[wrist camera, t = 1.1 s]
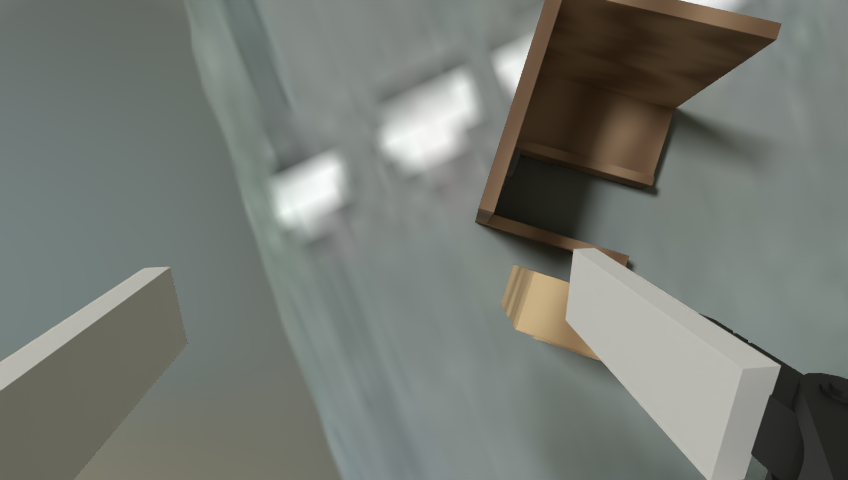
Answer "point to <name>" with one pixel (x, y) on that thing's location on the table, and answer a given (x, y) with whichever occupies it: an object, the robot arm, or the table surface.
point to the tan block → (542, 309)
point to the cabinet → (612, 90)
